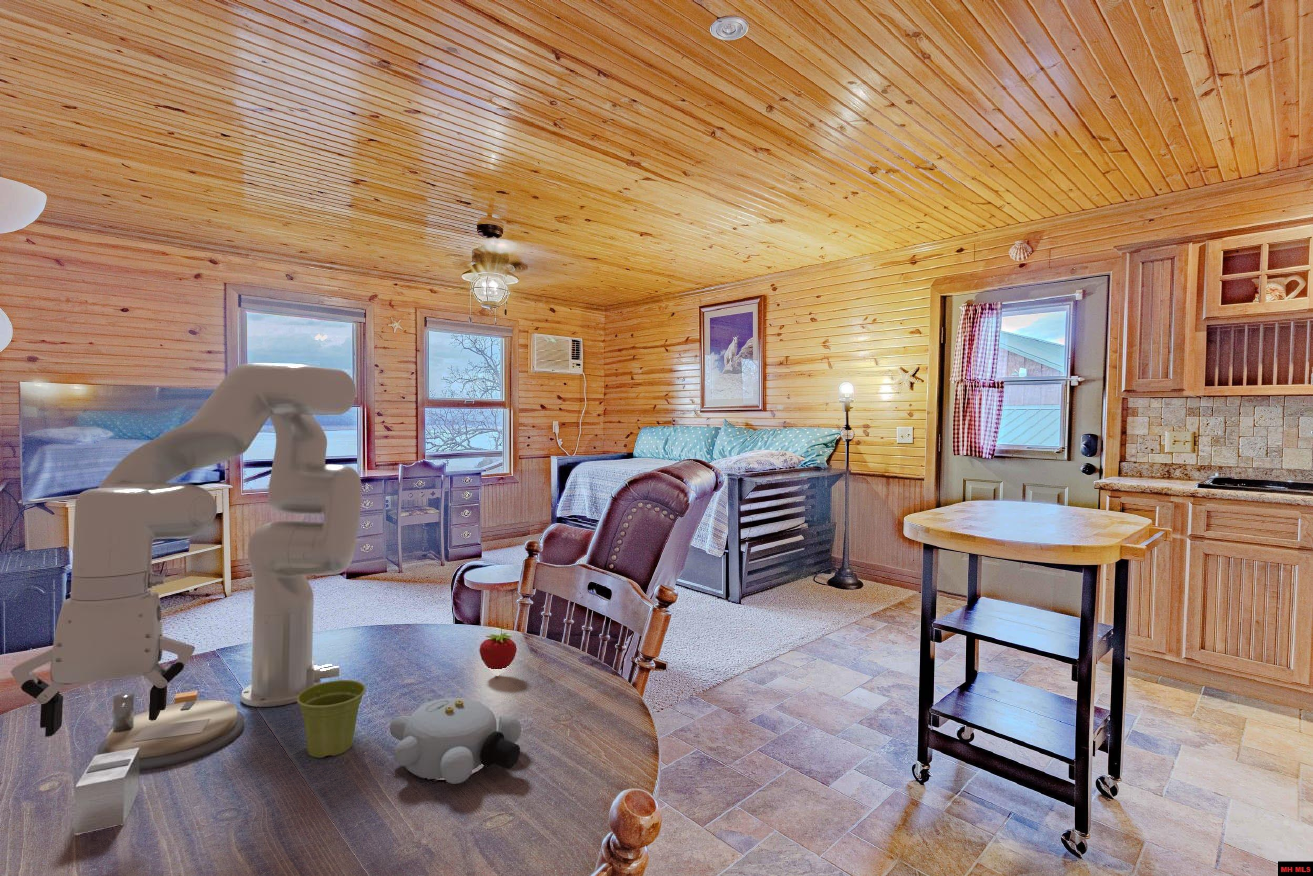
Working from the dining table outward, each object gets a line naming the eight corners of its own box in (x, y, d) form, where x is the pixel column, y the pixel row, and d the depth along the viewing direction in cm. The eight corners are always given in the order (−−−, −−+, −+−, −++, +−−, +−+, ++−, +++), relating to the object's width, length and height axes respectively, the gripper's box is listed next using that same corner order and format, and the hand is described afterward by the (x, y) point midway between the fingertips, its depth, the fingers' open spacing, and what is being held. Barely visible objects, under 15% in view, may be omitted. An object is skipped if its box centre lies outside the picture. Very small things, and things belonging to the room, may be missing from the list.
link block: (138, 792, 82) (139, 746, 82) (123, 826, 75) (124, 776, 75) (94, 801, 80) (95, 754, 80) (74, 837, 73) (75, 786, 73)
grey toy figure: (357, 771, 88) (470, 824, 80) (364, 713, 87) (477, 760, 80) (443, 720, 104) (543, 760, 96) (449, 671, 103) (550, 707, 96)
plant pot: (378, 740, 97) (379, 685, 97) (328, 770, 88) (330, 710, 88) (332, 729, 100) (333, 676, 100) (280, 757, 92) (281, 699, 91)
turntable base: (249, 699, 111) (249, 682, 111) (239, 751, 93) (239, 731, 93) (118, 720, 102) (119, 702, 102) (80, 782, 84) (80, 760, 84)
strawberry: (485, 669, 127) (486, 621, 127) (520, 672, 126) (521, 623, 126) (473, 680, 121) (474, 630, 121) (509, 683, 120) (511, 632, 120)
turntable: (258, 723, 99) (259, 683, 99) (138, 769, 85) (139, 723, 85) (204, 700, 107) (205, 664, 107) (86, 740, 93) (87, 697, 93)
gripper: (201, 575, 85) (195, 700, 84) (28, 586, 76) (21, 726, 76) (193, 586, 78) (187, 722, 78) (3, 599, 70) (-5, 752, 69)
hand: (105, 724), depth 77 cm, fingers open, 9 cm apart
